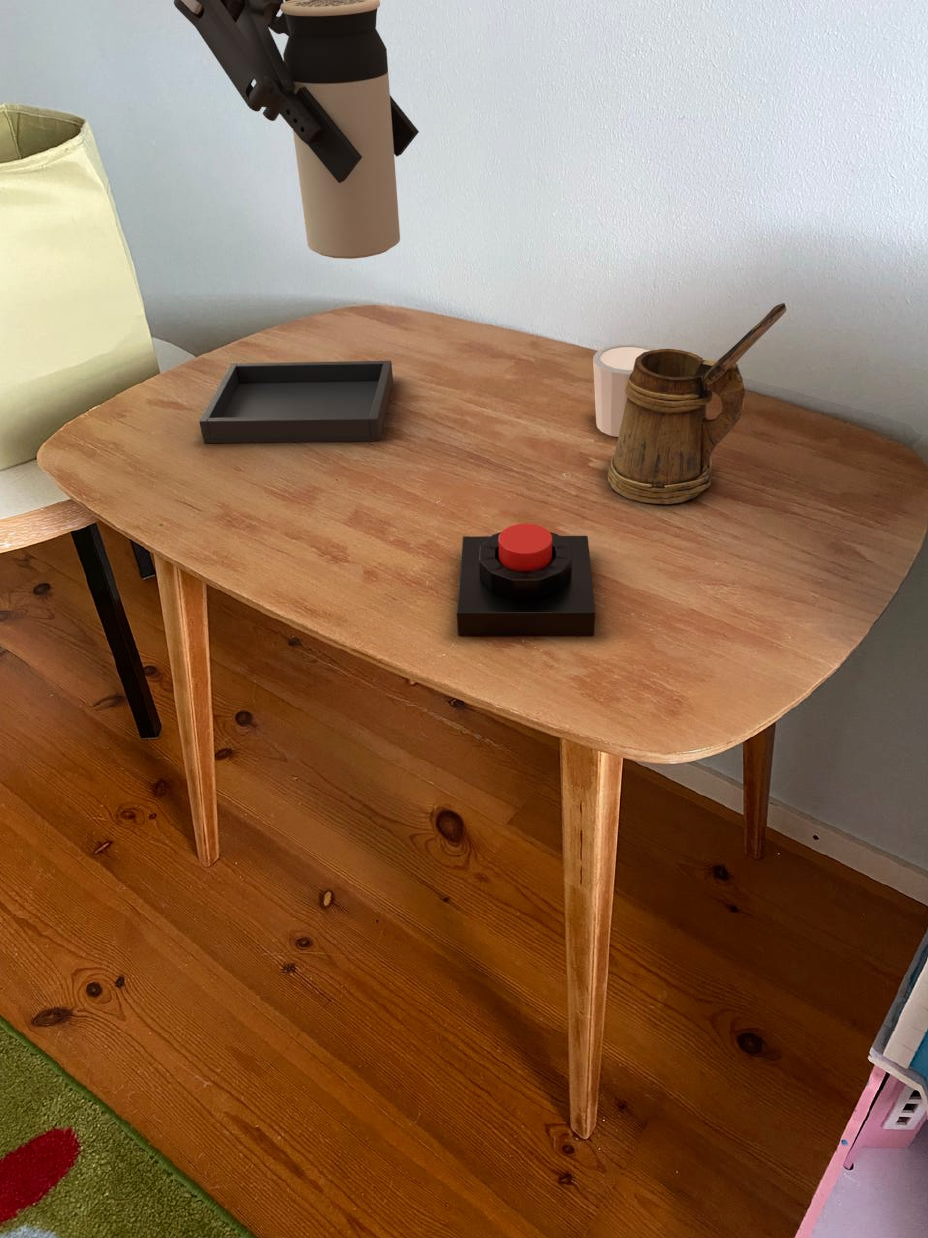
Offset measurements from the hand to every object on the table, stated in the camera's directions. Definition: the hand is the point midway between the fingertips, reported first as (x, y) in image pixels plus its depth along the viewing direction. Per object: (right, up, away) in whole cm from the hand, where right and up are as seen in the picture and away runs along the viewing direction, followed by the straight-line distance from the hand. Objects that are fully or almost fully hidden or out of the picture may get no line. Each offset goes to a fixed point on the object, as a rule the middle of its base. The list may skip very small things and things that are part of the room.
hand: (380, 156), depth 79 cm
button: (+11, -33, -5) cm, 35 cm away
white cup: (+23, -18, +19) cm, 34 cm away
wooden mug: (+26, -25, +9) cm, 38 cm away
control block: (+12, -35, -3) cm, 37 cm away
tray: (-10, -15, +24) cm, 30 cm away
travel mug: (-3, -5, +6) cm, 8 cm away
